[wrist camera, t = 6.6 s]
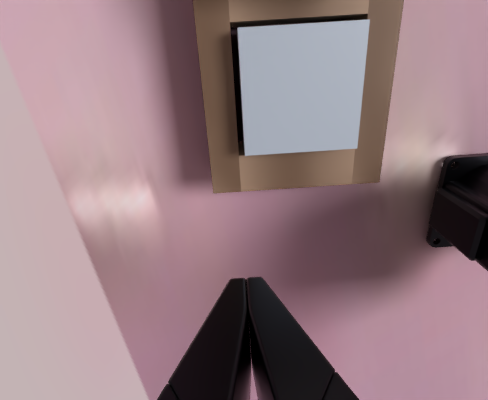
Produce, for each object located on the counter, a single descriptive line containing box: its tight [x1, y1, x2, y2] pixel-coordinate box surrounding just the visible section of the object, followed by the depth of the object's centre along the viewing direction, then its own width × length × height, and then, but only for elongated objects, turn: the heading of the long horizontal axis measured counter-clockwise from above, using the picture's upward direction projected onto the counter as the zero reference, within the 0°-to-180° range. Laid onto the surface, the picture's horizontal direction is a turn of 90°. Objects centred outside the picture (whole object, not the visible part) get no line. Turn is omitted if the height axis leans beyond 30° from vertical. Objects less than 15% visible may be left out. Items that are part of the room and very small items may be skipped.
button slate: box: [237, 19, 370, 156], centre depth 15 cm, size 5×5×4 cm
